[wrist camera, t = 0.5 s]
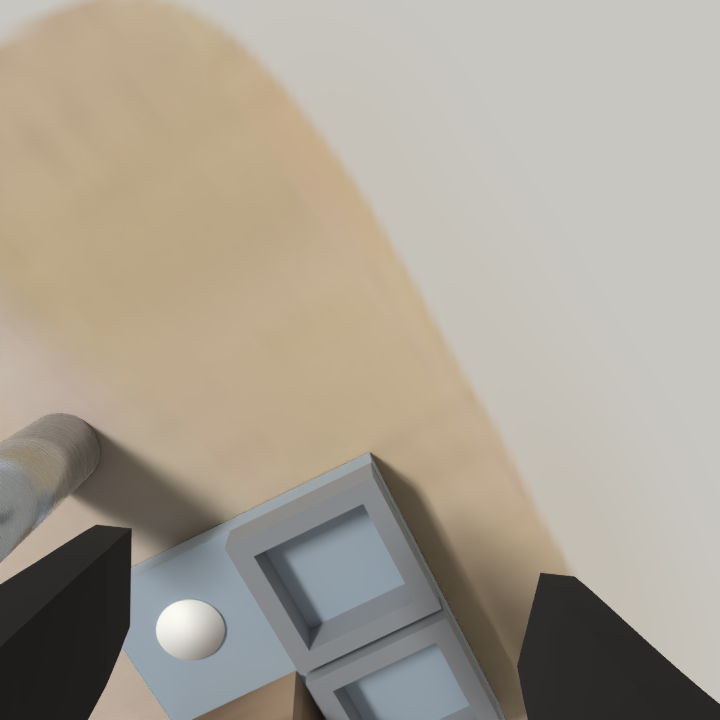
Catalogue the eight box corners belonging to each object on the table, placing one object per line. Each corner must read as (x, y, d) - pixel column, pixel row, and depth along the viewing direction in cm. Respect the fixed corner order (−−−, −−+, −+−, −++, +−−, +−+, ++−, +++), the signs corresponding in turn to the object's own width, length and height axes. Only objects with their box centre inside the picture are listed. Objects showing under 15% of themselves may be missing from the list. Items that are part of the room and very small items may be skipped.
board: (255, 817, 24) (243, 914, 20) (100, 582, 21) (56, 647, 18) (499, 704, 23) (529, 783, 20) (369, 452, 21) (377, 492, 18)
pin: (50, 496, 21) (-61, 597, 15) (9, 433, 20) (-123, 512, 14) (114, 464, 21) (29, 552, 15) (75, 400, 20) (-30, 466, 14)
